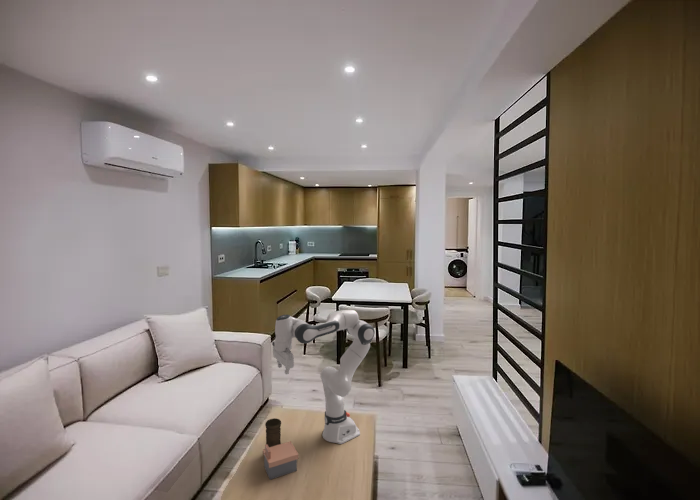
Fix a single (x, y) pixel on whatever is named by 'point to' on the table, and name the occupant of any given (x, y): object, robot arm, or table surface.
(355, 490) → the table surface
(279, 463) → the lid
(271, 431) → the container
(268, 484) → the table surface
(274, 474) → the tub
